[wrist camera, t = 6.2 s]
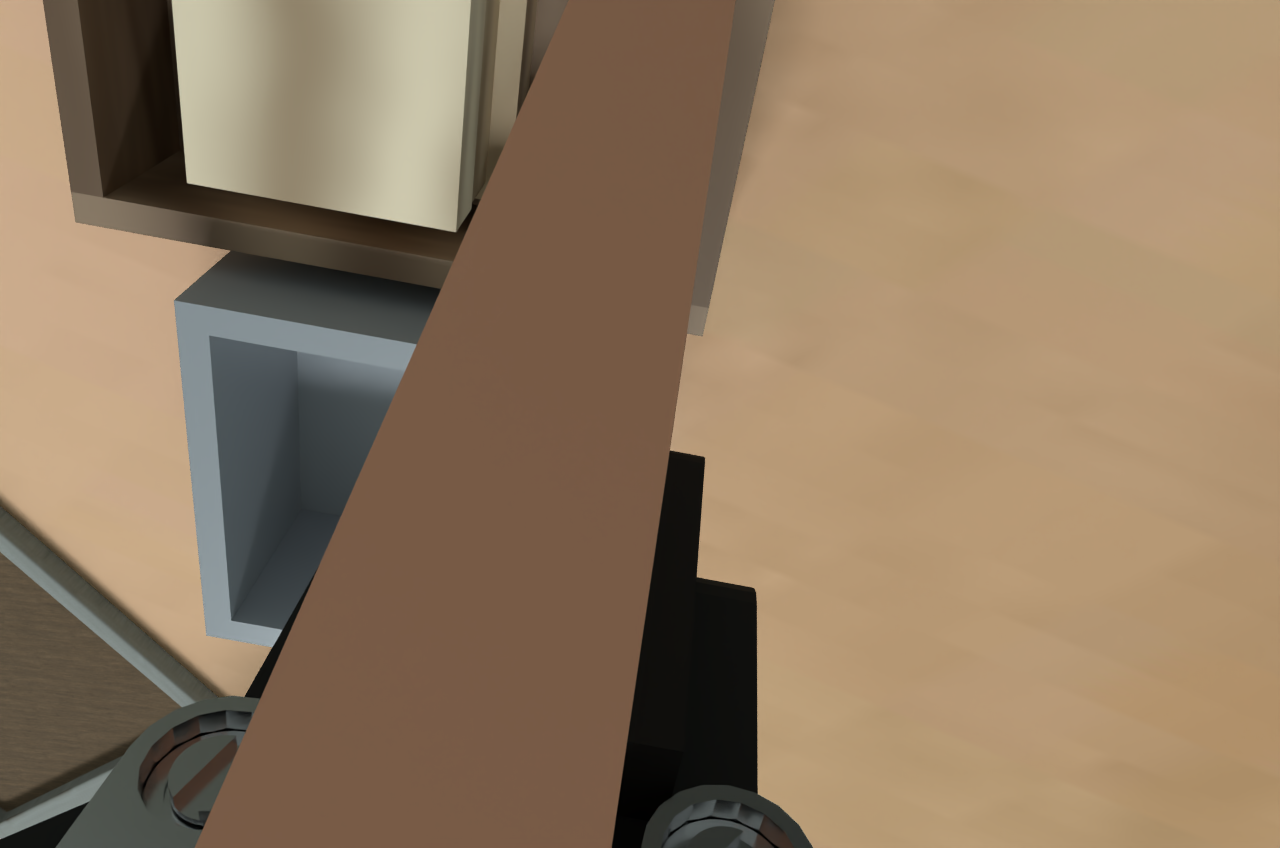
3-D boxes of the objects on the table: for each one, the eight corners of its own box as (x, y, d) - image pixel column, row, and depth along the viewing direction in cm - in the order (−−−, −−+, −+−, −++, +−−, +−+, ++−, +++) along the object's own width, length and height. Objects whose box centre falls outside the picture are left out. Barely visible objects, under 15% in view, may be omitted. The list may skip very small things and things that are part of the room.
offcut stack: (551, -141, 30) (512, -130, 25) (519, 184, 35) (481, 249, 30) (215, -204, 30) (106, -206, 25) (234, 132, 35) (147, 188, 30)
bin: (649, 278, 37) (629, 383, 31) (598, 565, 45) (573, 700, 38) (277, 210, 37) (174, 300, 31) (287, 509, 45) (206, 635, 38)
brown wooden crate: (799, -176, 30) (811, -172, 24) (707, 262, 37) (702, 336, 32) (124, -303, 29) (-5, -325, 24) (167, 164, 37) (75, 222, 32)
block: (754, -132, 13) (507, 1554, 3) (652, 405, 20) (472, 1457, 10) (636, -153, 13) (-69, 1448, 3) (574, 391, 20) (309, 1428, 10)
